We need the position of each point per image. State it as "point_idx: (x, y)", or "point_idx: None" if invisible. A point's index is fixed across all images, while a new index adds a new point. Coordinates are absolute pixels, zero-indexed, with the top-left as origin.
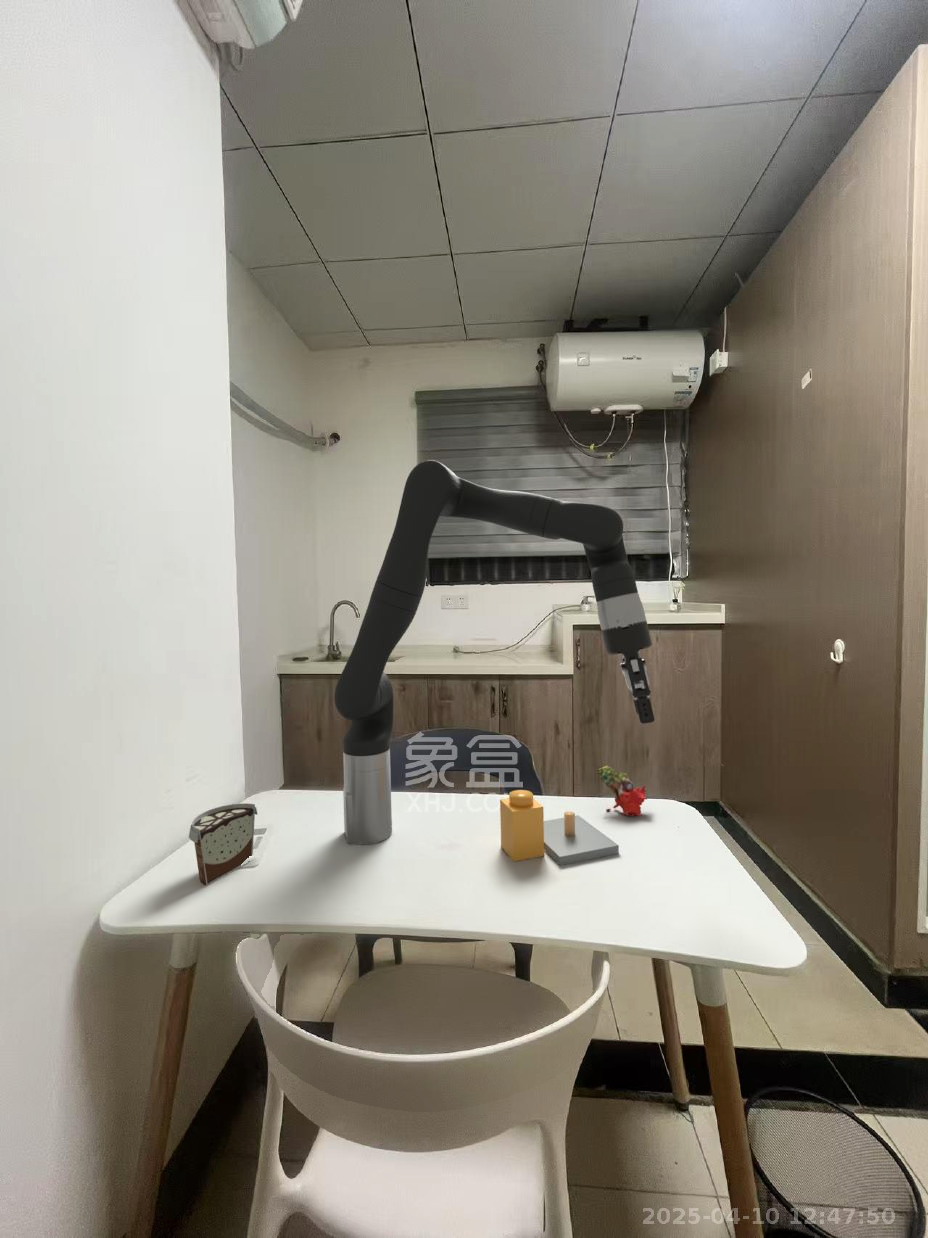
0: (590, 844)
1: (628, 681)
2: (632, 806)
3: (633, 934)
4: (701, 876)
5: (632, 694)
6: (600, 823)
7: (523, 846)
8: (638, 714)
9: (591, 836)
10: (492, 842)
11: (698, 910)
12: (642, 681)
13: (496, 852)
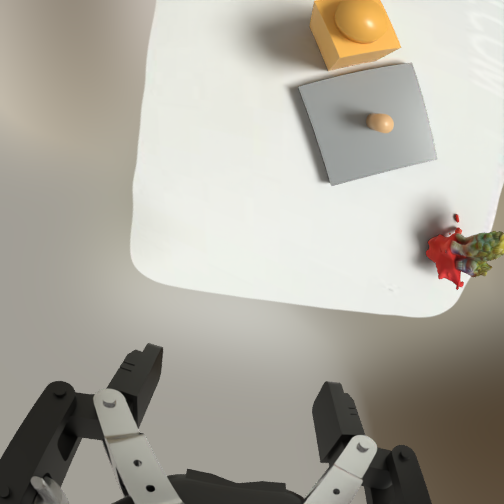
0: (337, 143)
1: (113, 459)
2: (435, 251)
3: (151, 149)
4: (265, 263)
5: (60, 390)
6: (424, 190)
7: (317, 35)
8: (141, 358)
9: (363, 153)
10: None
11: (196, 230)
12: (116, 476)
13: None
